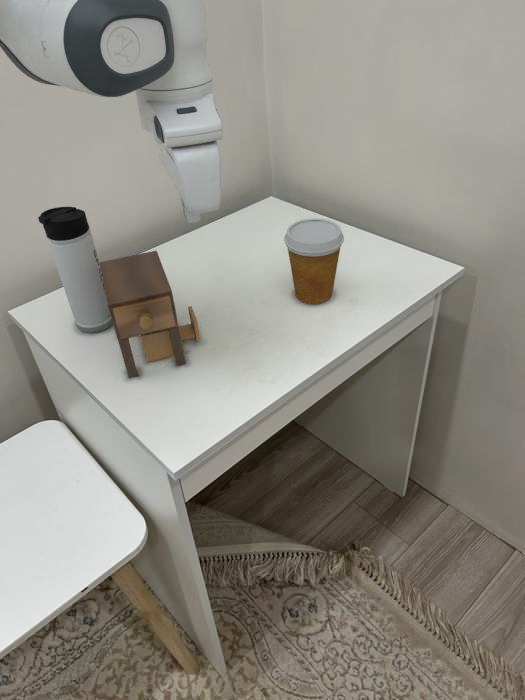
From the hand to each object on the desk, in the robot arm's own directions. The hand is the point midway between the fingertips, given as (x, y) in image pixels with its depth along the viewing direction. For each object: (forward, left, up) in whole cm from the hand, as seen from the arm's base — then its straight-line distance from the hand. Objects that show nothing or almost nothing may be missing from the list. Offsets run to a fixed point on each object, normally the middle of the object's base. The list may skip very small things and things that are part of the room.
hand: (192, 218), depth 72 cm
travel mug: (-17, +12, -21) cm, 29 cm away
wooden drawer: (-6, +2, -21) cm, 22 cm away
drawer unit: (-9, +2, -21) cm, 23 cm away
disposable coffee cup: (+20, +6, -21) cm, 29 cm away
